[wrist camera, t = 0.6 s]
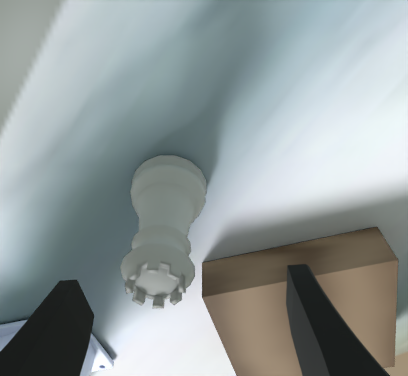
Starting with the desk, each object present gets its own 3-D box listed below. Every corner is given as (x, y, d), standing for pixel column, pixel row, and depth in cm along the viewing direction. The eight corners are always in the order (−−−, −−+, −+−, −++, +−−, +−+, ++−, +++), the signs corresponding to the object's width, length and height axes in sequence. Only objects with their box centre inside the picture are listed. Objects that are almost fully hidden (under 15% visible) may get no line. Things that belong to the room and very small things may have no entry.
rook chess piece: (135, 144, 20) (102, 242, 13) (213, 157, 20) (219, 258, 14) (130, 207, 22) (99, 316, 16) (199, 217, 23) (198, 327, 16)
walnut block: (239, 354, 31) (242, 388, 29) (202, 262, 25) (202, 297, 23) (378, 331, 30) (394, 366, 27) (377, 226, 23) (397, 259, 21)
